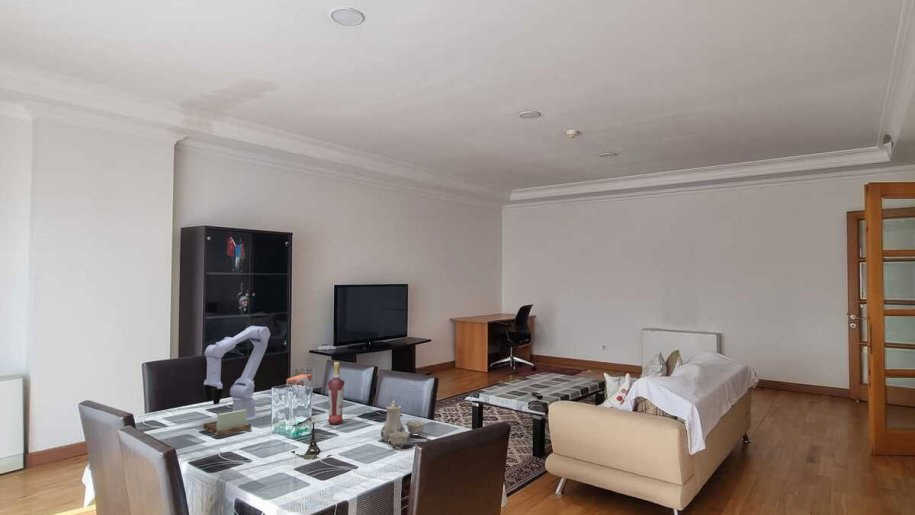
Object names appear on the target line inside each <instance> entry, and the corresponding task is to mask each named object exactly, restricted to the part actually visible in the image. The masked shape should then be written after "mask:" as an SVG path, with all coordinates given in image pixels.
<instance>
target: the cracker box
mask: <svg viewBox="0 0 915 515" xmlns="http://www.w3.org/2000/svg"><path fill="white" fill-rule="evenodd" d="M312 377H313V376H312V374H306V373H305V374H304V373H303V374H302V373H301V374H298V375H296V376H291V377H289V378H286V384H285V385H286V386H288V385H302V386H308V387H311V388H312Z"/></svg>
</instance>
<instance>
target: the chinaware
mask: <svg viewBox="0 0 915 515" xmlns="http://www.w3.org/2000/svg"><path fill="white" fill-rule="evenodd" d="M385 409H386V420H385V423H384V425H383V426H382V428H381V430H380V436H381V438H382V440H383V439H385V440H388V442H387V446H388V447H390V448H391V447H392V448H393V447H395V446H396V447H401V446H402V447H404V446H405V445H406V444H407V441H408V439H409V437H410V434H411V435H413V434H419V433H420V434H421V433H423V431H424V428H425V425H426V424H427V423H426V421H423V422H422V421H421V420H414V421H412V420H409V421H407V422H406V423H405V426H406V427H407V431H406V429H405V427H404V425H403V424H402V421H401V420H402V419H401V412H402V410H401V409H402V406H400V405H398V404H397V403H396V401H395V400H392V401H391V403H390V404H389V405H387V406H386V407H385ZM420 434H419V435H420ZM389 441H391V445H390V442H389Z"/></svg>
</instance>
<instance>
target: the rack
mask: <svg viewBox="0 0 915 515" xmlns="http://www.w3.org/2000/svg"><path fill="white" fill-rule="evenodd" d="M216 423H217V420H216V421H210V422H205V423H203V424H202V425H203V426H202V427H203V428H202V429H204V430H206V431H207V432H210V433H212V434H214V435H215V436H218V437H220V436H225V435H230V434H235V433H238V432H245V431H249V430H252V424H251V423H250V424H249V423H248V424H247V425H243V426H238V427H233V428H228V429H223V430H218V434H217V427H216Z"/></svg>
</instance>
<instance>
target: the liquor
mask: <svg viewBox="0 0 915 515" xmlns="http://www.w3.org/2000/svg"><path fill="white" fill-rule="evenodd" d="M340 366H341V362H340V361H334V362H333V368H334V370H333V375H332V376H333V377H332V378H331V379H330V380H329V381H328V382H327V384H328V385H327V386H328V393H327V395H328V419H327V422H328V423H329V424H330V425H334V424H336V425H340V424H341V423H342V422H343V421H344V419H343V406H344V405H343V404H344V393H345V381H344V379H341V378H340V377H341V376H340ZM339 423H340V424H339Z"/></svg>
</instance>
